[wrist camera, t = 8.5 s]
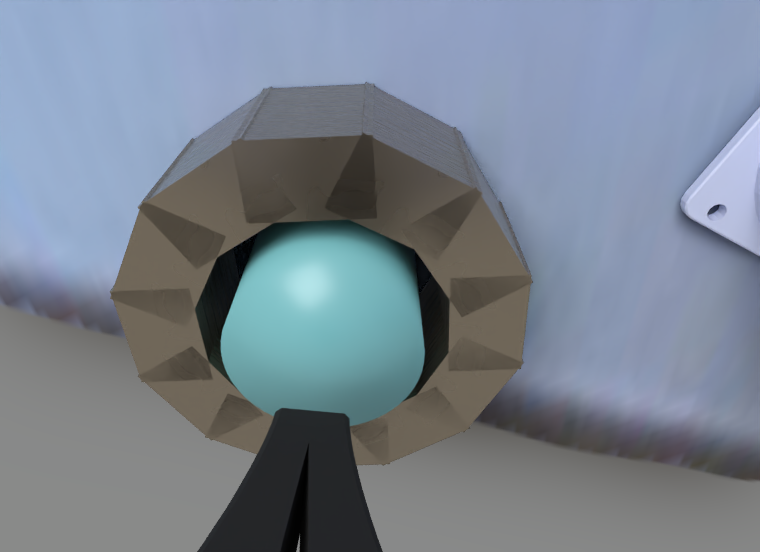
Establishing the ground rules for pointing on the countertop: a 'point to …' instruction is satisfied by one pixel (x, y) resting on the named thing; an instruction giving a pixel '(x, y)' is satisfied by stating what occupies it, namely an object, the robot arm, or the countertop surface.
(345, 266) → the teal rounded cylinder
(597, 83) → the countertop surface
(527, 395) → the countertop surface
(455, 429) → the brown faceted tube
